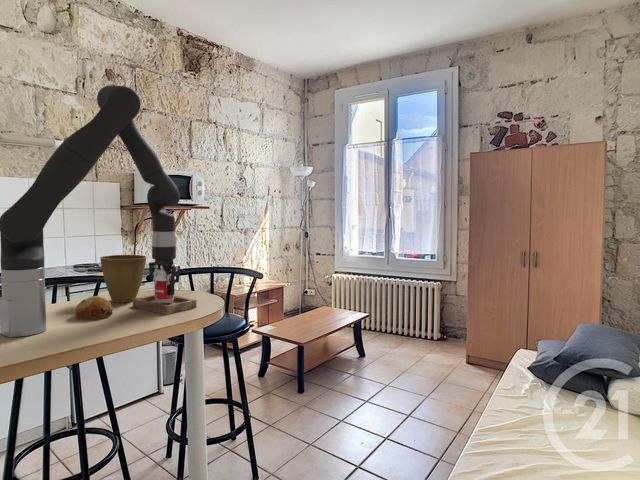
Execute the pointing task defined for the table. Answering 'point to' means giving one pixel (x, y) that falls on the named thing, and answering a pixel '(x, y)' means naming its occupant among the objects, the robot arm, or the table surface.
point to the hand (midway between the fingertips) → (164, 293)
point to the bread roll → (93, 308)
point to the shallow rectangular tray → (164, 304)
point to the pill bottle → (162, 289)
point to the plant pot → (123, 276)
